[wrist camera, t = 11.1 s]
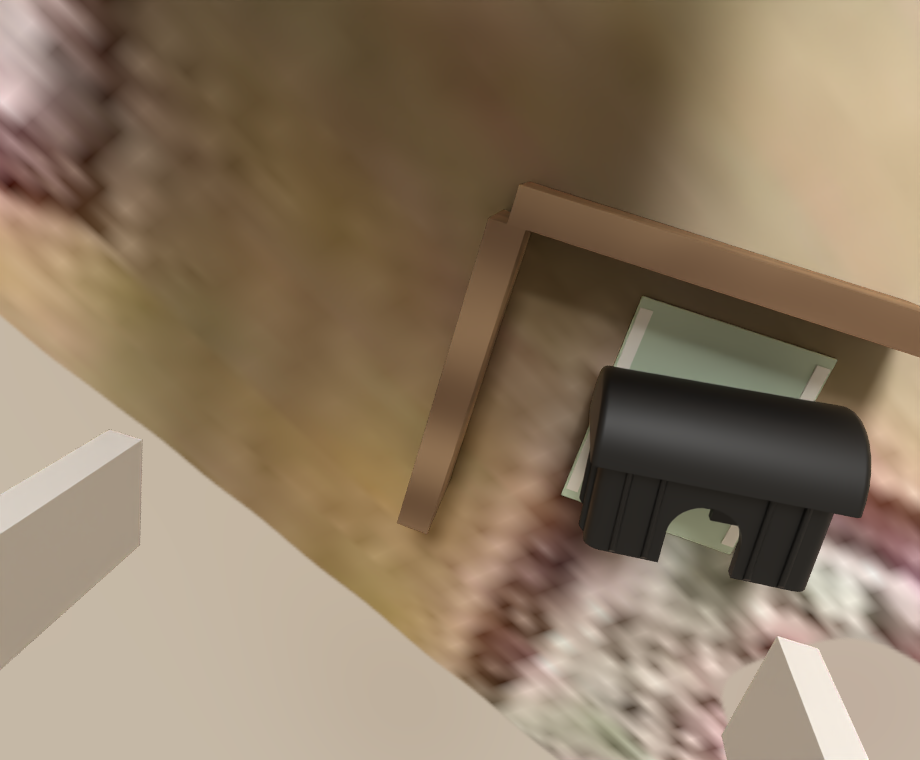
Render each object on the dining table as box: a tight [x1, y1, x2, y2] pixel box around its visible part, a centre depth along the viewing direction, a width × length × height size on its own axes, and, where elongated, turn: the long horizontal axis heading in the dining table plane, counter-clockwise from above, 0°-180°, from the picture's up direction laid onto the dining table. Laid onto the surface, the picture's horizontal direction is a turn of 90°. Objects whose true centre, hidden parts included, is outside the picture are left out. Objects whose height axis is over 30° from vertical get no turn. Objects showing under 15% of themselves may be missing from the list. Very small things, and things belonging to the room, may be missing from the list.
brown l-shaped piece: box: [397, 182, 920, 534], centre depth 28 cm, size 16×18×5 cm
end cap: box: [579, 366, 871, 592], centre depth 27 cm, size 10×7×7 cm
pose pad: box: [561, 296, 837, 555], centre depth 30 cm, size 11×9×1 cm
